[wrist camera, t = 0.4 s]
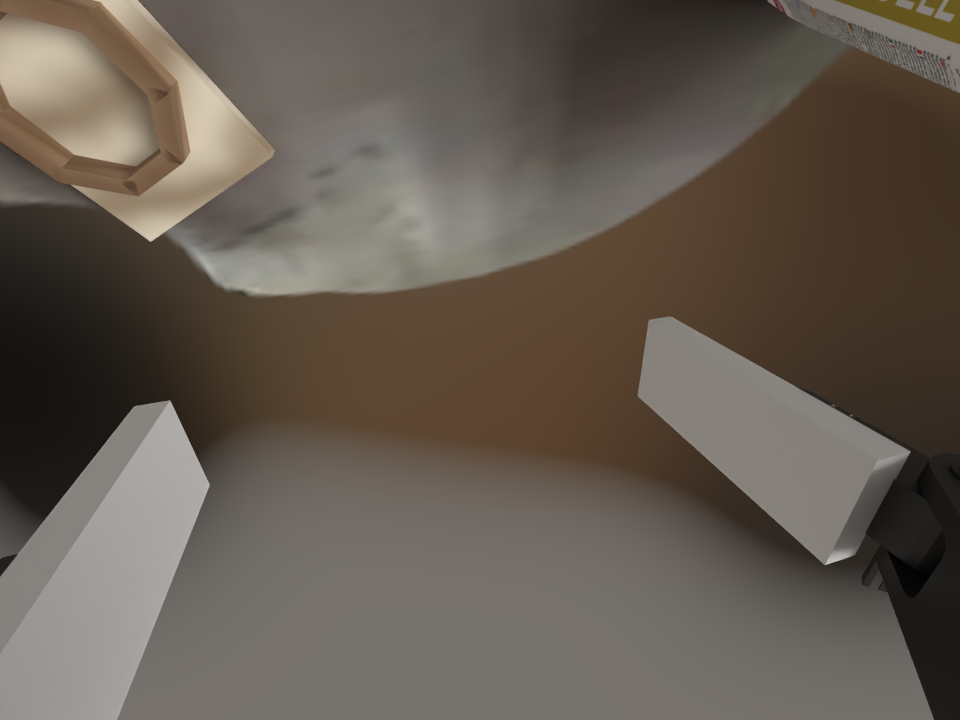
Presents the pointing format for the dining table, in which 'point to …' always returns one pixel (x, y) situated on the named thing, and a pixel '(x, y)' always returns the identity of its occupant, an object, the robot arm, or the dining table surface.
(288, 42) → the dining table surface
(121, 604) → the robot arm
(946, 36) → the juice carton
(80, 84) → the ring board
